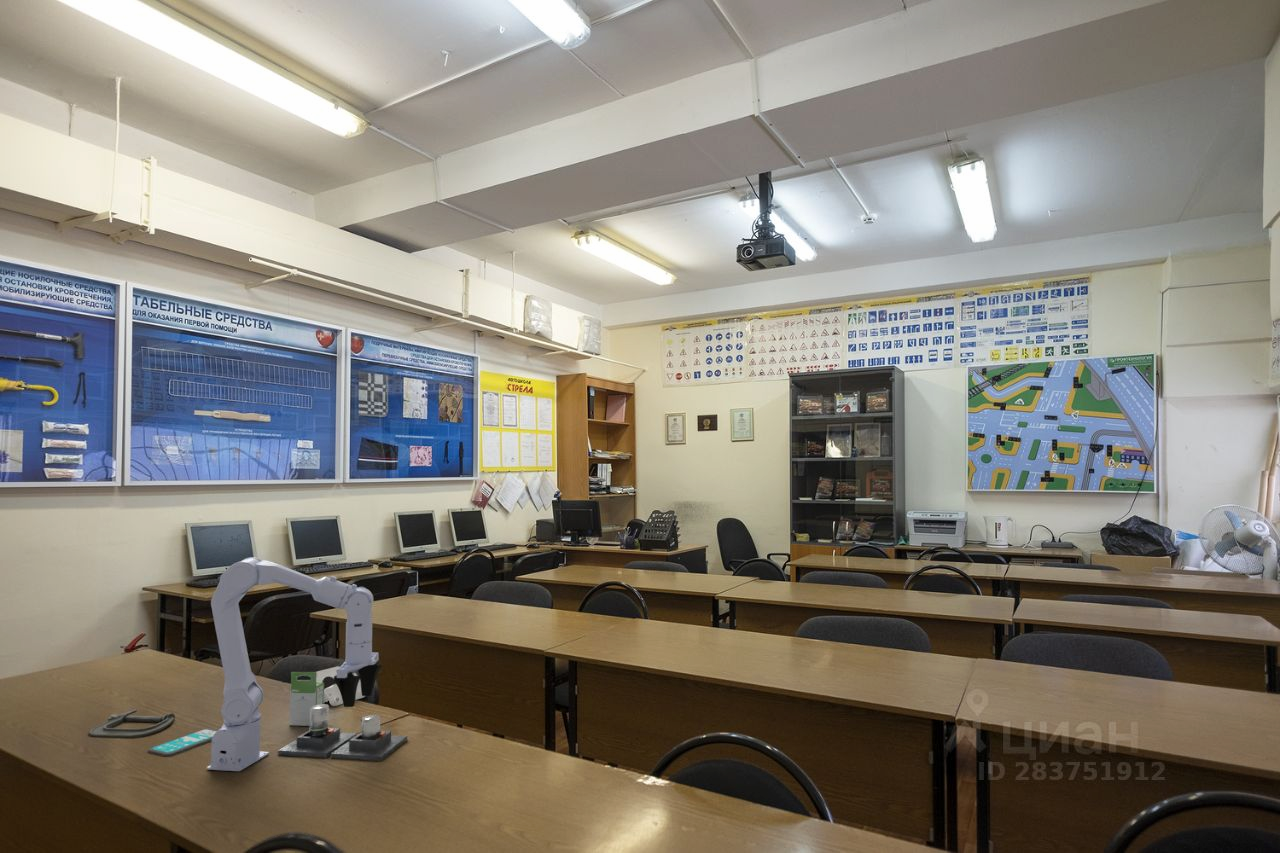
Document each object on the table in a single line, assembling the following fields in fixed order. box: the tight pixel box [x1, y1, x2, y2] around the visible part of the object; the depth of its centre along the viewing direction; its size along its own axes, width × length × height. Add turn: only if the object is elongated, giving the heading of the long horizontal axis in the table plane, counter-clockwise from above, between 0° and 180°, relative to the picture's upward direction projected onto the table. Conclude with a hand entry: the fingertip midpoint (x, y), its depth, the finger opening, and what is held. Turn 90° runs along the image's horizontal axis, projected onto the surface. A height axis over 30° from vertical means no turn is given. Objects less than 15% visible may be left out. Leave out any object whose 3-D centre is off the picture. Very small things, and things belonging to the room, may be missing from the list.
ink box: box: [288, 671, 325, 727], centre depth 175 cm, size 7×4×13 cm, turn 84°
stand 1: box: [277, 727, 358, 759], centre depth 160 cm, size 12×12×4 cm
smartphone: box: [147, 727, 220, 757], centre depth 162 cm, size 9×1×15 cm
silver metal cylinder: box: [308, 703, 330, 736], centre depth 160 cm, size 4×4×6 cm
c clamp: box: [88, 709, 176, 739], centre depth 174 cm, size 20×17×3 cm
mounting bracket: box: [316, 665, 366, 707], centre depth 193 cm, size 12×6×11 cm, turn 146°
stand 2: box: [330, 729, 408, 762], centre depth 158 cm, size 12×12×4 cm
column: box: [360, 714, 381, 740], centre depth 158 cm, size 4×4×6 cm
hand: (358, 700), depth 159 cm, fingers open, 7 cm apart
